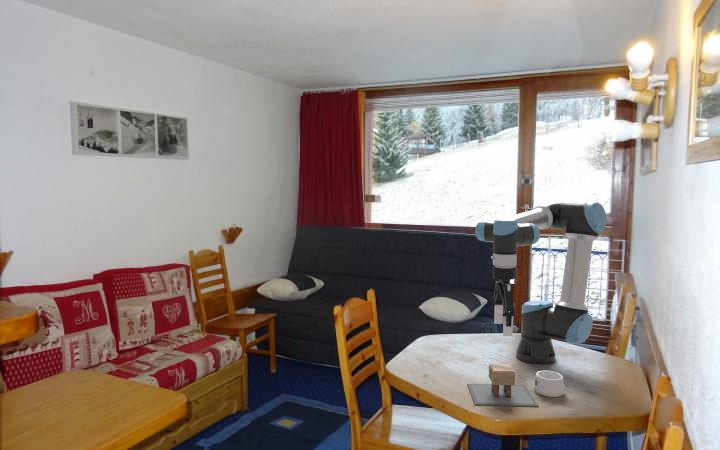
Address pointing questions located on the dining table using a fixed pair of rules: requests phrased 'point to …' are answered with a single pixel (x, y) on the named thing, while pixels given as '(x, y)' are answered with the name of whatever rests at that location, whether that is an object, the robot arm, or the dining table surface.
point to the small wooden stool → (501, 378)
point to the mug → (549, 383)
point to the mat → (501, 396)
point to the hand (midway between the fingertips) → (502, 329)
